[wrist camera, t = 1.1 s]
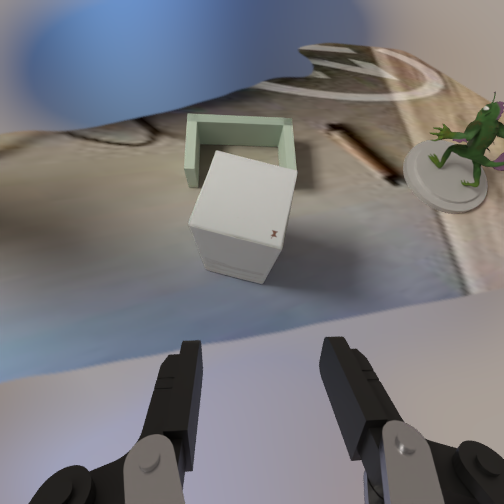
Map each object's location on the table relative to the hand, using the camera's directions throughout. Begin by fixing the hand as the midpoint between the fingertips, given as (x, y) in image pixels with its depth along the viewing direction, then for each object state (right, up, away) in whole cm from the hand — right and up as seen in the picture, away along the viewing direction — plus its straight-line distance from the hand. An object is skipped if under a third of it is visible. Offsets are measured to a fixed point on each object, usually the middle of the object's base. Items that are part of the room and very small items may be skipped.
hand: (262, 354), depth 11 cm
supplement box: (-2, +5, +21) cm, 22 cm away
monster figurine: (+27, +15, +27) cm, 42 cm away
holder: (-2, +17, +25) cm, 30 cm away
